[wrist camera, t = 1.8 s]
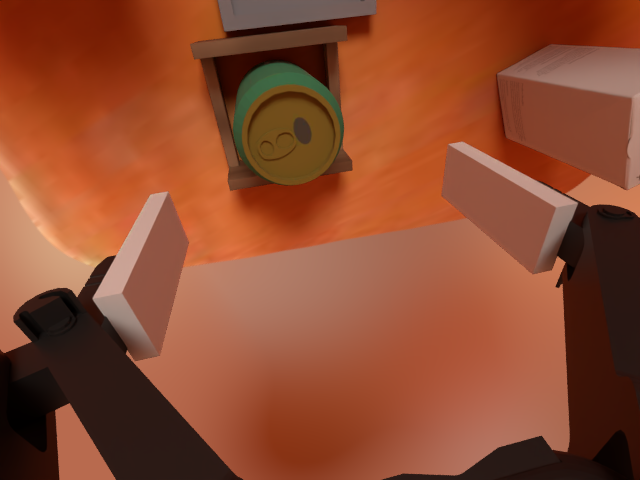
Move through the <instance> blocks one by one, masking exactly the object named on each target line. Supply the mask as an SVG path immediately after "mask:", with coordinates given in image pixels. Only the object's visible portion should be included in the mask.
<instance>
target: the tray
mask: <svg viewBox="0 0 640 480" xmlns="http://www.w3.org/2000/svg"><path fill="white" fill-rule="evenodd" d="M218 4H219V9H220V13H221V18H222V22H223V27H224V31H234V30H242V29H251V28H260V27H268V26H277V25H286V24H294V23H303V22H312V21H320V20H329V19H338V18H346V17H355V16H364V15H373V14H376V0H218Z"/></svg>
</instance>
